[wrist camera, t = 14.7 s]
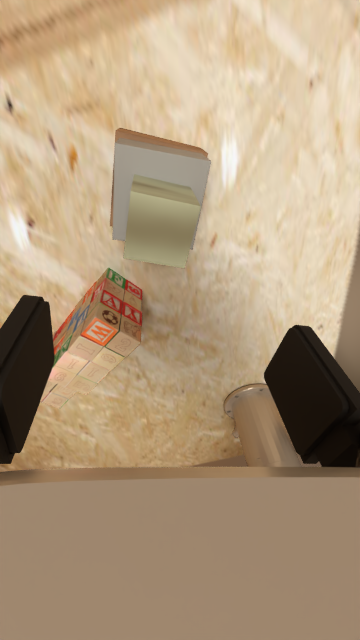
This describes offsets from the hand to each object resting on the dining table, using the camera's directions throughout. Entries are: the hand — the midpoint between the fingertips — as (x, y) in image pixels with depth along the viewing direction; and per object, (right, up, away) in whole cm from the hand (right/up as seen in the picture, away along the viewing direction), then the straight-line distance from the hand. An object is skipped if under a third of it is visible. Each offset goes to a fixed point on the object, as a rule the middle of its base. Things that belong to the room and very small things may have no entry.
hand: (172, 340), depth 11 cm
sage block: (-2, +11, +14) cm, 18 cm away
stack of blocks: (-15, +1, +34) cm, 37 cm away
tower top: (-2, +15, +18) cm, 23 cm away
